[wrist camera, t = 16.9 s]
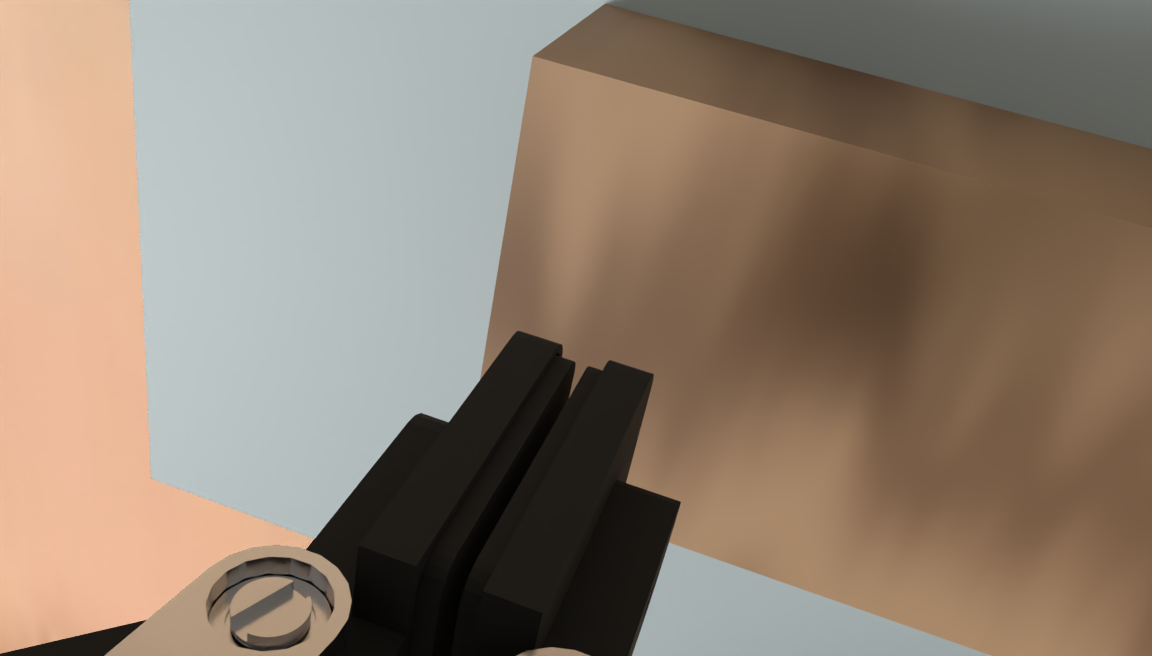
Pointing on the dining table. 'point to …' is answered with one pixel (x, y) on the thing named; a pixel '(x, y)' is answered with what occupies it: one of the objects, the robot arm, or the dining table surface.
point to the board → (470, 231)
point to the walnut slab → (853, 326)
